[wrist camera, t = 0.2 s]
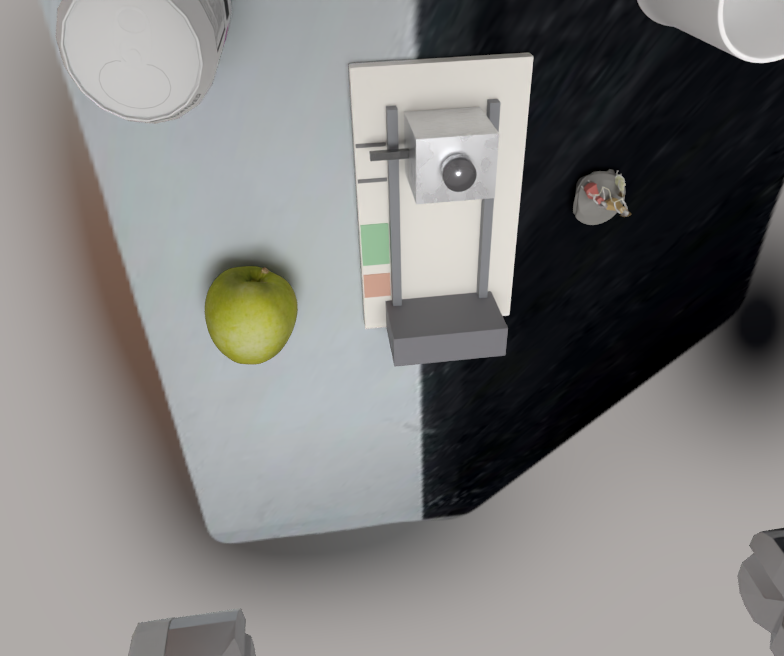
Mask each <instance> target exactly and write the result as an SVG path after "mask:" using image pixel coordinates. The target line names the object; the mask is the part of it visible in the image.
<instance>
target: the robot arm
mask: <svg viewBox="0 0 784 656" xmlns="http://www.w3.org/2000/svg"><path fill="white" fill-rule="evenodd" d="M749 546H750V547H751V549H752V551H753V552H754V553H753V554H752V555H751V556H750V557H748V558H747V559H746V560H745V561H743V562H742V564H741V567H740V570H739V573H738V582H739V590H740V594H741V597H742V600H743V602H744V605H745V607H746V609H747V610H748V612H749V614H750V615H751V617H752V619H753V621H754V622H756V623H757V624H759V625H760V626H762V627H763V628H765V629H766V630H768V631H769V632H770V633H771V641H770V649H771V651H772V652H773V654H774V656H784V528H780V529H774V530H768V531H762V532H759V533H757V534H756V535H754V536H753V538H752V540H751V543H750V545H749ZM245 626H246V619H245V617H244V614H243V612H242V609H241V608H240V609H233V610H227V611H219V612H213V613H206V614H199V615H193V616H186V617H179V618H167V619H161V620H154V621H148V622H142V623H138V625H137V627H136V629H135V631H134V633H133V635H132V640H131V644H130V650H129V655H128V656H256V655H255V648H254V644H253V641H252V637H251V636H250V635H248V634H246V633H245Z"/></svg>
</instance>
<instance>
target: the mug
mask: <svg viewBox="0 0 784 656" xmlns="http://www.w3.org/2000/svg"><path fill="white" fill-rule="evenodd" d="M637 2H638V4H639V6H640V8H641V9H642V11H643V12H644V13H645V14H646V15H647V16H648V17H649V18H650V19H652V20H653V21H655V22H657V23H659V24H662V25H666V26H674V27H676V28H678V29H680V30H682V31H684V32H686V33H688V34H690V35H692V36H694V37H697V38H699V39H701V40H703V41H705V42H707V43H709V44H711V45H713V46H715V47H717V48H719V49H721V50H723V51H725V52H727V53H730V54H732V55H734V56H736V57H738V58H740V59H742V60H745V61H749V62H754V63H767V62H773V61H777V60H780V59H783V58H784V0H637Z"/></svg>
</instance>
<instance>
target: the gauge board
mask: <svg viewBox="0 0 784 656" xmlns="http://www.w3.org/2000/svg"><path fill="white" fill-rule="evenodd" d="M532 67H533V56H532V55H531V54H530V53H513V54H497V55H480V56H464V57H448V58H432V59H415V60H399V61H383V62H367V63H350V64H349V80H350V97H351V113H352V129H353V145H354V162H355V178H356V194H357V210H358V227H359V243H360V259H361V275H362V292H363V308H364V323H365V329H371V328H381V327H387V332H388V337H389V342H390V347H391V352H392V356H393V361H394V366H405V365H414V364H424V363H434V362H444V361H454V360H464V359H474V358H484V357H493V356H503V355H505V353H506V343H507V332H508V327H507V325H506V323H505V321H504V319H503V316H506V315H509V313H510V303H511V292H512V281H513V270H514V260H515V249H516V238H517V227H518V217H519V206H520V195H521V185H522V174H523V163H524V152H525V142H526V131H527V120H528V110H529V99H530V88H531V77H532ZM466 107H480V108H481V109H482V110H483V112H484V113H485V114H486V116H487V117H488V119H489V120H490V121H491V123H492V124H493V126H494V127H495V128H496V130H497V131H498V132H499V144H498V159H497V173H496V188H495V198H489V199H477V200H465V201H452V202H440V203H427V204H416V202H415V199H414V196H413V194H412V191H411V188H410V185H409V182H408V180H407V177H406V174H405V159H396V160H382V161H370V155H369V151H375V150H389V149H403V148H405V144H404V112H408V111H422V110H437V109H452V108H466Z"/></svg>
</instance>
